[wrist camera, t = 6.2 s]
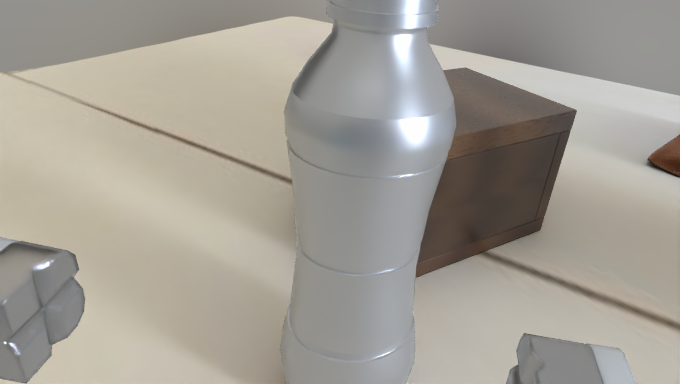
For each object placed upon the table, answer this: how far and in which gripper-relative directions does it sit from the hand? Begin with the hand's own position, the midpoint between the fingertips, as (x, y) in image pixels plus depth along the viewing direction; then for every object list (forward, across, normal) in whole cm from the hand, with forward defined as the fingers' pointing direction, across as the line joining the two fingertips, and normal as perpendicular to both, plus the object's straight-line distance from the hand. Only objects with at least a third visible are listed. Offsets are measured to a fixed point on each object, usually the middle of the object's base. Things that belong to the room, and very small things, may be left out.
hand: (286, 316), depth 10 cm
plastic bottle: (+12, 0, +15) cm, 19 cm away
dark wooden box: (+29, -3, +15) cm, 33 cm away
